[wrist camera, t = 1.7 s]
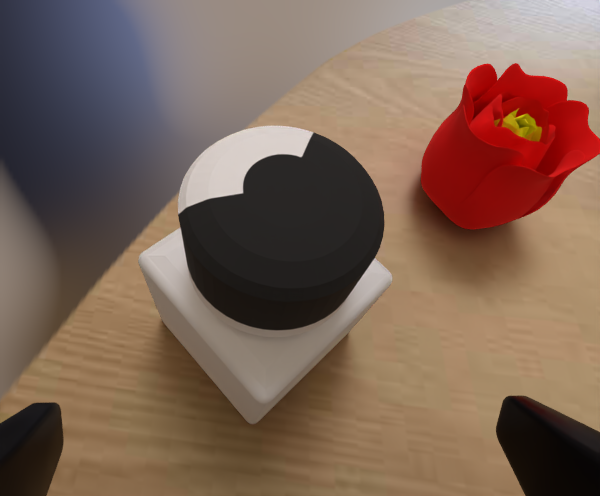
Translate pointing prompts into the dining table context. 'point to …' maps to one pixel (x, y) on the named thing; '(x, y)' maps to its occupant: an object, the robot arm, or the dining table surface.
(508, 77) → the flower
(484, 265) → the dining table surface
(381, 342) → the dining table surface
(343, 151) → the medicine bottle
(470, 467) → the dining table surface
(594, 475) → the robot arm
